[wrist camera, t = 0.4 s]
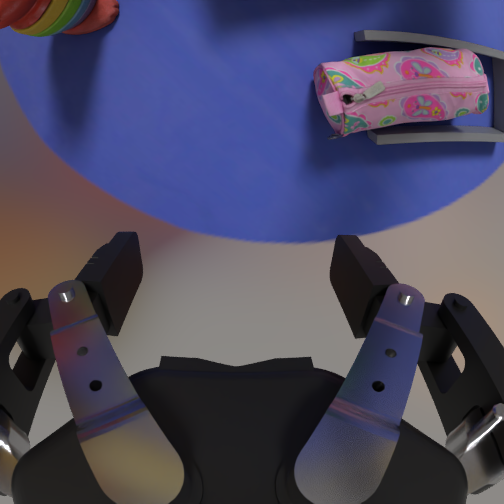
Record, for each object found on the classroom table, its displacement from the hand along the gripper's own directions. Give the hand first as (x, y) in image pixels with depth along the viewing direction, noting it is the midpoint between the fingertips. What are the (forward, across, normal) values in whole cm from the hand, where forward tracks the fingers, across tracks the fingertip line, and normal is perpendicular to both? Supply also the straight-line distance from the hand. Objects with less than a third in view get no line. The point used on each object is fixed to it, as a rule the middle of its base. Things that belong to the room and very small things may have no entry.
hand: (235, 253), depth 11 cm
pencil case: (+24, -18, -11) cm, 32 cm away
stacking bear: (+25, +21, -22) cm, 39 cm away
